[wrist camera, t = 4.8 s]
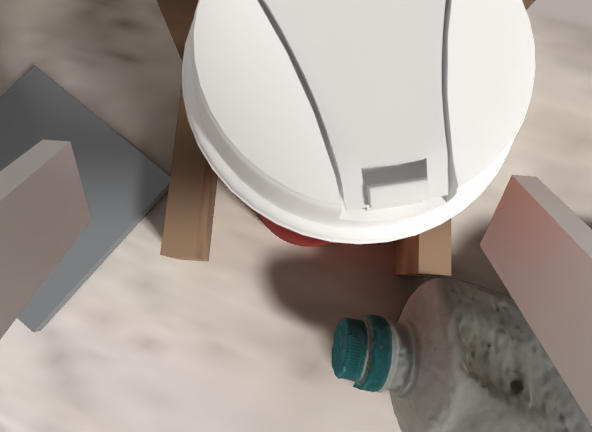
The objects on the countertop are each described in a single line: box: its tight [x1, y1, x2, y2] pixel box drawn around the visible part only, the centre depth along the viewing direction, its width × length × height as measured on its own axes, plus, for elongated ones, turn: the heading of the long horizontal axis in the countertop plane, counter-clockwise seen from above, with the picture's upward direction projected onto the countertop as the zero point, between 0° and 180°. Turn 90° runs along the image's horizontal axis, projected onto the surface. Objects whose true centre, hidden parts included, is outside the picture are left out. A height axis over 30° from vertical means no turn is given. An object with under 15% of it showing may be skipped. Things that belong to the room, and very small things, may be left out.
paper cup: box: [182, 0, 535, 246], centre depth 14 cm, size 8×8×14 cm
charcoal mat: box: [0, 65, 170, 332], centre depth 20 cm, size 10×10×1 cm
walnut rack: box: [157, 0, 535, 277], centre depth 15 cm, size 10×13×12 cm
